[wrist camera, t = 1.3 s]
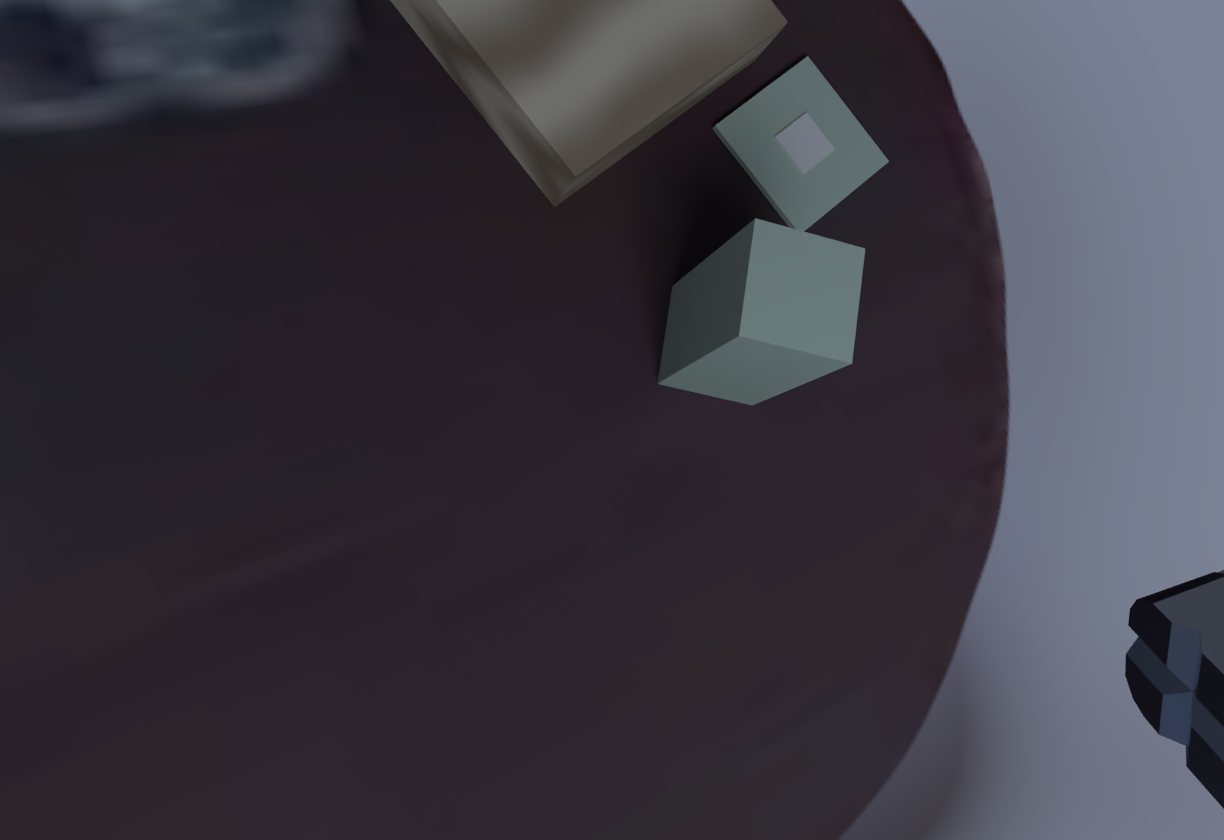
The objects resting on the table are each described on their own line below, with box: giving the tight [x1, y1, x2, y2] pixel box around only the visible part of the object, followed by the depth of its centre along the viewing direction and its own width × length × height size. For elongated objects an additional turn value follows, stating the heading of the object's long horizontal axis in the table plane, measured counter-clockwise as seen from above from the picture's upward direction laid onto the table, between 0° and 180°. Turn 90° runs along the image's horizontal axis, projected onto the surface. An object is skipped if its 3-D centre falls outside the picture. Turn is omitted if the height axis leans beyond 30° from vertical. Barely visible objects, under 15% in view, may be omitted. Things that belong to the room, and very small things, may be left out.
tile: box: [712, 56, 889, 232], centre depth 56 cm, size 7×7×1 cm
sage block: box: [657, 218, 865, 405], centre depth 49 cm, size 5×5×10 cm
